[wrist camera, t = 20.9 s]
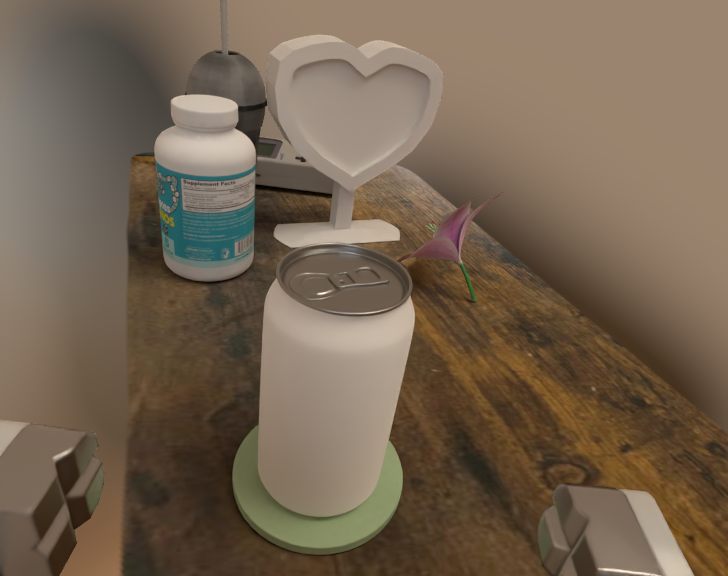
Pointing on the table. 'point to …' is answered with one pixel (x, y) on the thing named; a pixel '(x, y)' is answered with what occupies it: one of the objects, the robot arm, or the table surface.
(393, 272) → the can
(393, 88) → the heart sculpture
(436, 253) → the lily
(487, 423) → the table surface
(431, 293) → the table surface
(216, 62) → the beverage cup
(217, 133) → the pill bottle
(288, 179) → the handheld gaming device
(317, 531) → the coaster
